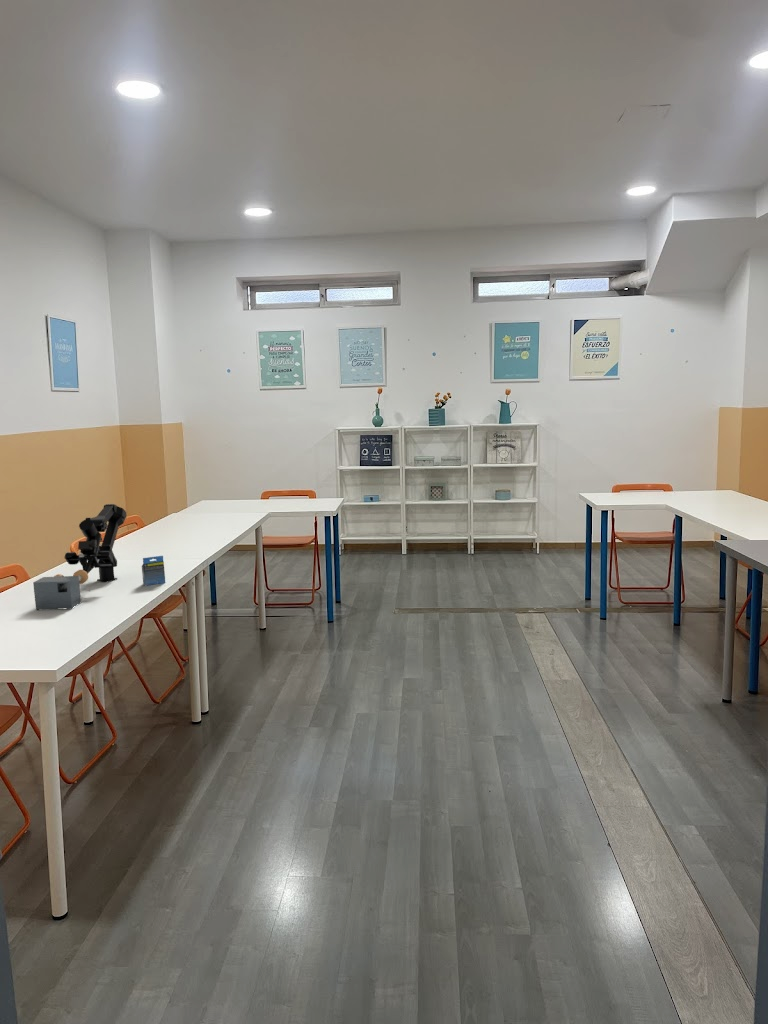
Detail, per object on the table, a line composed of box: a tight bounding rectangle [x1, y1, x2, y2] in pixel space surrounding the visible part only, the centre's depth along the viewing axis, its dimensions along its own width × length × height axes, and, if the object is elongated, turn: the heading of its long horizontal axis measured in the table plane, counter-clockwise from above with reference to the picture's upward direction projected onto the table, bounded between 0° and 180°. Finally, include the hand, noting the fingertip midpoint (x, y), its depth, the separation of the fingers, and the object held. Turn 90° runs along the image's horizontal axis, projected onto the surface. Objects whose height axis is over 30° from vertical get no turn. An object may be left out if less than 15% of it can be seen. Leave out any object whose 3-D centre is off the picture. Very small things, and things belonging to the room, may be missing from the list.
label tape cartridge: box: [141, 555, 166, 586], centre depth 327 cm, size 9×4×12 cm, turn 119°
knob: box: [63, 569, 89, 589], centre depth 300 cm, size 16×6×6 cm, turn 1°
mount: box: [33, 574, 82, 610], centre depth 296 cm, size 13×14×11 cm
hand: (84, 574), depth 312 cm, fingers closed
